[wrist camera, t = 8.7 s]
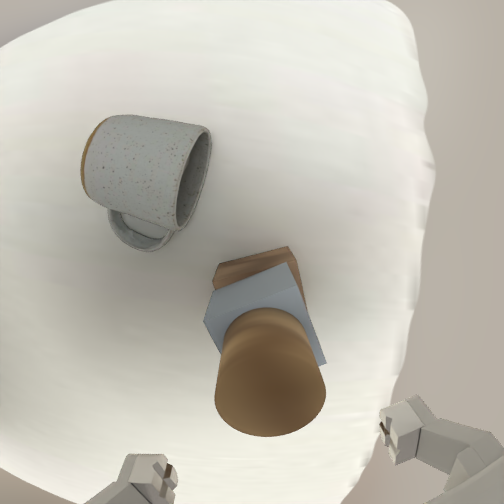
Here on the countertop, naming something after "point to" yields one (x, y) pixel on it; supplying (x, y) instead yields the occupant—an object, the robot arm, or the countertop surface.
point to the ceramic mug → (146, 173)
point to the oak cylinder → (268, 375)
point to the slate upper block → (259, 304)
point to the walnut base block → (256, 267)
